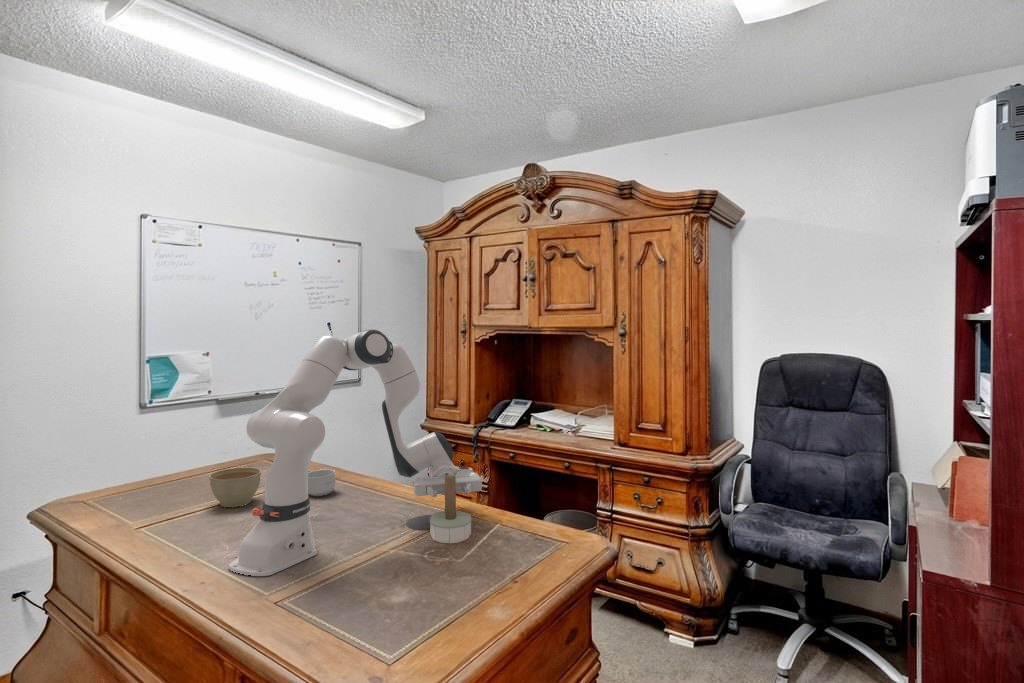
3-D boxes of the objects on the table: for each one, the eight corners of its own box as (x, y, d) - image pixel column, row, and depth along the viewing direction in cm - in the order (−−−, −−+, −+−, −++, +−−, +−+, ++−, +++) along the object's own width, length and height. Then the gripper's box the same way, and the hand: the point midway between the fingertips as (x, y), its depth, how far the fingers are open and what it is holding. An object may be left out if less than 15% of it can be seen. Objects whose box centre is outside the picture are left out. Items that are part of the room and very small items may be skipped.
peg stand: (460, 530, 150) (460, 484, 150) (422, 525, 154) (421, 480, 154) (477, 515, 162) (477, 473, 161) (441, 511, 166) (441, 469, 165)
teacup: (329, 498, 194) (329, 476, 194) (299, 498, 195) (299, 476, 194) (342, 487, 208) (342, 466, 208) (314, 487, 209) (314, 466, 208)
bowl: (459, 547, 151) (459, 529, 151) (424, 542, 155) (424, 524, 155) (475, 532, 161) (475, 516, 161) (442, 528, 165) (442, 512, 165)
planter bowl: (240, 513, 180) (240, 480, 180) (198, 510, 183) (198, 478, 183) (271, 497, 196) (270, 468, 195) (232, 495, 199) (231, 466, 199)
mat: (436, 534, 160) (436, 532, 160) (398, 529, 165) (398, 527, 165) (455, 519, 172) (455, 517, 172) (419, 515, 177) (419, 513, 177)
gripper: (411, 471, 168) (414, 484, 154) (477, 467, 172) (484, 479, 159) (411, 492, 168) (414, 506, 154) (477, 487, 173) (485, 500, 159)
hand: (450, 492), depth 157 cm, fingers open, 8 cm apart
